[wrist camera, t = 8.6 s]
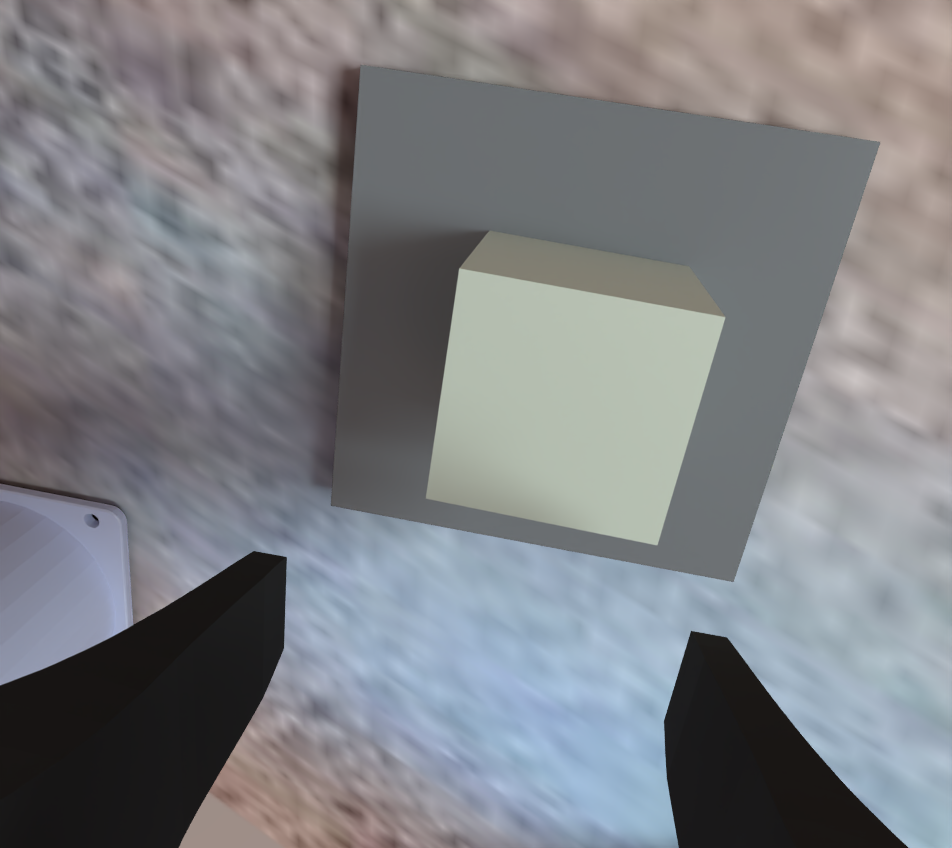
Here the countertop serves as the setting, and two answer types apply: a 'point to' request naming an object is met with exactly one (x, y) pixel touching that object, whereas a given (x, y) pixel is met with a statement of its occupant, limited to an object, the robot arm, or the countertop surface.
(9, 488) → the robot arm
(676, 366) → the cube
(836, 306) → the countertop surface
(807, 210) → the slate tile
